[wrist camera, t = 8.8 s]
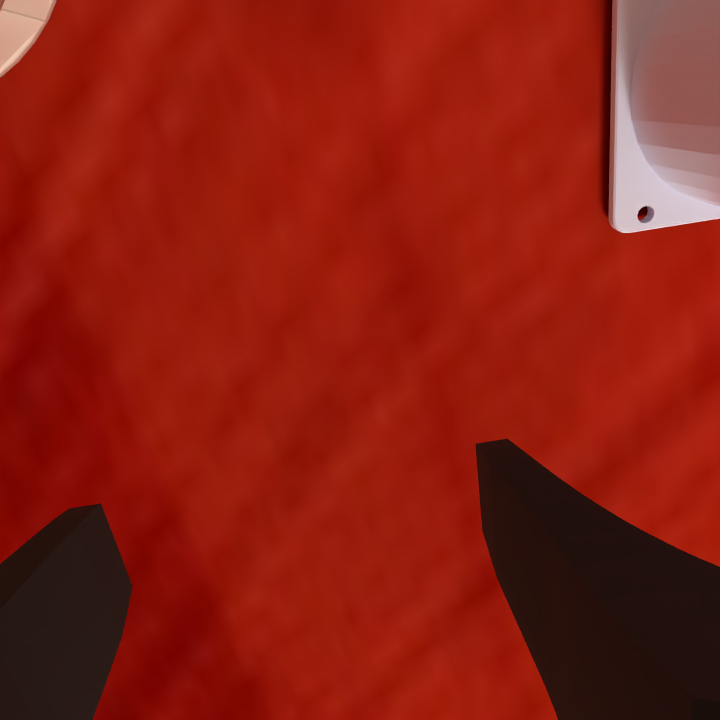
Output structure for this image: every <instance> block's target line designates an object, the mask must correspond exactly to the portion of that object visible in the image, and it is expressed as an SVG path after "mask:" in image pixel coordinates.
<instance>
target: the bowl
mask: <svg viewBox="0 0 720 720" xmlns="http://www.w3.org/2000/svg"><path fill="white" fill-rule="evenodd" d="M56 1H57V0H5V2H4V4H3V6H2V9H1V11H0V78H1V77H2V76H3V75H4V74H5V73H6V72H8V71H9V70H10V69H11V68H12V67H13V66H15V65H16V64H17V63H18V62H19V61H20V60H21V59H22V57H23V56H24V55H25V54H26V53H27V51H28V50H29V49H30V48H31V47H32V45H33V44H34V43H35V42H36V40H37V38H38V37H39V35H40V33H41V32H42V30H43V28H44V27H45V25H46V23H47V22H48V20H49V18H50V16H51V13H52V11H53V8H54V6H55V4H56Z"/></svg>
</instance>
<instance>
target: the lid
mask: <svg viewBox="0 0 720 720" xmlns="http://www.w3.org/2000/svg"><path fill="white" fill-rule="evenodd" d="M4 2H5V0H0V11H1V9H2V6H3V4H4Z"/></svg>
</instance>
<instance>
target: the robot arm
mask: <svg viewBox="0 0 720 720" xmlns="http://www.w3.org/2000/svg"><path fill="white" fill-rule="evenodd" d="M644 206H647V208H648V213H647V216H646V217H645V218H644V219H642V220H640V221H639V220H638V217H637V215H638V211H639V210H640V209H641V208H642V207H644ZM719 218H720V0H613V3H612V59H611V115H610V171H609V222H610V225H611V226H612V227H613V228H614V229H616V230H618V231H620V232H622V233H631V232H637V231H643V230H650V229H656V228H662V227H669V226H675V225H681V224H688V223H694V222H700V221H706V220H713V219H719ZM476 455H477V468H478V480H479V493H480V505H481V517H482V530H483V533H484V537H485V540H486V543H487V547H488V550H489V553H490V557H491V560H492V563H493V566H494V569H495V573H496V576H497V578H498V581H499V583H500V585H501V588H502V590H503V592H504V594H505V597H506V599H507V601H508V603H509V606H510V608H511V610H512V613H513V615H514V617H515V619H516V621H517V624H518V626H519V628H520V630H521V633H522V635H523V637H524V639H525V642H526V644H527V646H528V648H529V651H530V653H531V655H532V657H533V659H534V662H535V664H536V666H537V668H538V671H539V673H540V675H541V677H542V680H543V682H544V684H545V687H546V689H547V692H548V694H549V697H550V699H551V702H552V704H553V707H554V709H555V712H556V715H557V718H558V720H720V567H719V566H716V565H714V564H711V563H709V562H707V561H704V560H702V559H699V558H697V557H695V556H693V555H691V554H688V553H686V552H684V551H682V550H680V549H678V548H676V547H674V546H672V545H670V544H668V543H666V542H664V541H662V540H660V539H658V538H656V537H654V536H652V535H650V534H648V533H646V532H644V531H642V530H640V529H639V528H637V527H635V526H633V525H631V524H630V523H628V522H626V521H624V520H623V519H621V518H619V517H618V516H616V515H614V514H613V513H611V512H609V511H608V510H606V509H605V508H603V507H601V506H600V505H598V504H596V503H595V502H593V501H592V500H590V499H589V498H587V497H586V496H584V495H583V494H581V493H580V492H578V491H577V490H575V489H574V488H572V487H571V486H570V485H568V484H567V483H565V482H564V481H562V480H561V479H560V478H558V477H557V476H556V475H554V474H553V473H552V472H550V471H549V470H548V469H546V468H545V467H544V466H542V465H541V464H540V463H538V462H537V461H536V460H534V459H533V458H532V457H531V456H529V455H528V454H527V453H525V452H524V451H523V450H522V449H520V448H519V447H518V446H516V445H515V444H514V443H512V442H511V441H510V440H508V439H503V440H497V441H490V442H484V443H478V444H476ZM131 590H132V584H131V581H130V578H129V576H128V573H127V571H126V568H125V565H124V563H123V560H122V557H121V555H120V552H119V550H118V547H117V544H116V542H115V539H114V537H113V534H112V531H111V529H110V526H109V524H108V521H107V518H106V516H105V513H104V510H103V508H102V505H101V504H95V505H89V506H82V507H76V508H70V509H68V510H67V511H65V512H64V513H62V514H61V515H59V516H58V517H57V518H56V519H54V520H53V521H52V522H50V523H49V524H48V525H47V526H45V527H44V528H43V529H42V530H41V531H39V532H38V533H37V534H36V535H34V536H33V537H32V538H31V539H30V540H28V541H27V542H26V543H25V544H24V545H23V546H21V547H20V548H19V549H18V550H17V551H15V552H14V553H13V554H12V555H11V556H9V557H8V558H7V559H6V560H5V561H3V562H2V563H1V564H0V720H92V719H93V717H94V714H95V711H96V708H97V706H98V703H99V700H100V697H101V695H102V692H103V689H104V686H105V684H106V681H107V678H108V675H109V672H110V669H111V667H112V664H113V661H114V658H115V655H116V652H117V650H118V647H119V644H120V641H121V638H122V634H123V629H124V625H125V620H126V616H127V611H128V606H129V601H130V596H131Z"/></svg>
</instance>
